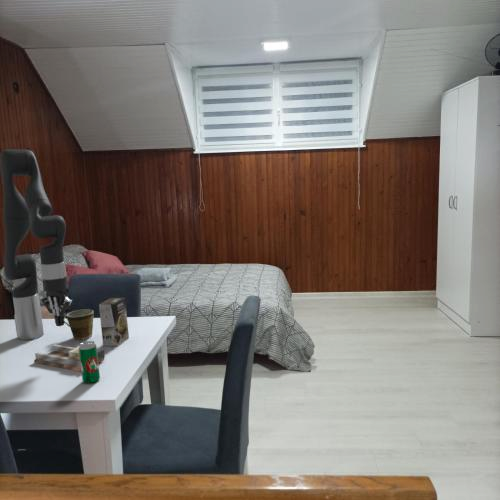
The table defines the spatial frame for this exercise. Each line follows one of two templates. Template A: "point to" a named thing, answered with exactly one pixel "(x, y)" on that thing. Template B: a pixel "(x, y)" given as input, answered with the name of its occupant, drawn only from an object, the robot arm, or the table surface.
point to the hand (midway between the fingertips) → (60, 325)
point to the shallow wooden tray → (63, 358)
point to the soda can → (89, 362)
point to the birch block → (74, 354)
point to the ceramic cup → (81, 323)
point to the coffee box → (113, 321)
